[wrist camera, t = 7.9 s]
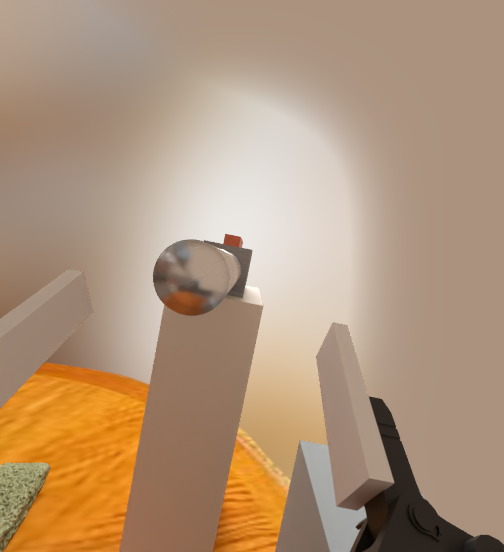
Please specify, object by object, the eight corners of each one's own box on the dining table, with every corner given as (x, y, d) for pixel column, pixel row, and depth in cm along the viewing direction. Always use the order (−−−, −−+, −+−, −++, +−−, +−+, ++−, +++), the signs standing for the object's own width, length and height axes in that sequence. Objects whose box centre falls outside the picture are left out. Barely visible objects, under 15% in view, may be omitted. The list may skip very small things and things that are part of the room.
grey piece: (130, 318, 11) (153, 186, 10) (212, 280, 33) (220, 237, 32) (232, 338, 11) (259, 207, 10) (245, 286, 33) (253, 244, 32)
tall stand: (110, 597, 22) (167, 286, 21) (165, 467, 36) (201, 276, 35) (200, 613, 22) (263, 305, 21) (219, 477, 36) (258, 288, 35)
